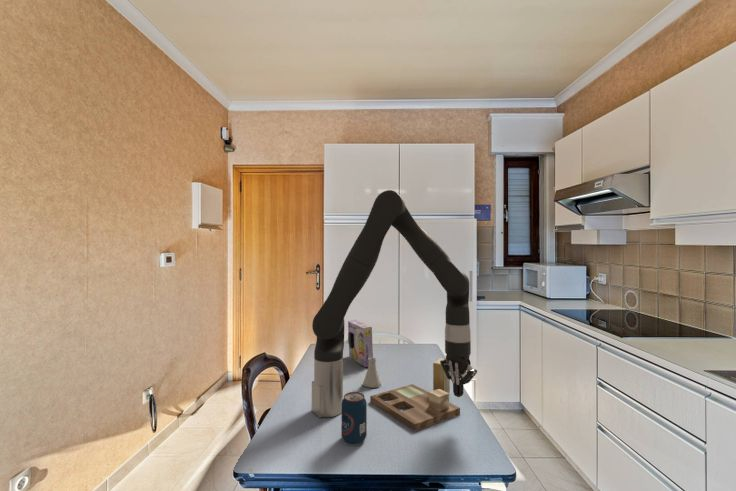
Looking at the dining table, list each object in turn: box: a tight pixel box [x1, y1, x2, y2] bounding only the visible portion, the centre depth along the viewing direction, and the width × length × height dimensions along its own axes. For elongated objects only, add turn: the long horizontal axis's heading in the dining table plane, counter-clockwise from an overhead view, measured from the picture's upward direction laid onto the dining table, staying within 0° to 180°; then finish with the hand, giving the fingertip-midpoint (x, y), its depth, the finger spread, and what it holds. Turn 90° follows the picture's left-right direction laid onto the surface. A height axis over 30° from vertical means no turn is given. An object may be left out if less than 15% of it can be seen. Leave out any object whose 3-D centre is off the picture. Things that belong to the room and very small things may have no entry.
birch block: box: [428, 389, 450, 411], centre depth 114 cm, size 4×4×4 cm
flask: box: [362, 357, 382, 389], centre depth 137 cm, size 7×7×10 cm
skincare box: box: [432, 357, 451, 394], centre depth 128 cm, size 6×4×12 cm
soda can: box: [340, 391, 368, 446], centre depth 98 cm, size 7×7×12 cm
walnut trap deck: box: [369, 383, 461, 432], centre depth 118 cm, size 19×23×2 cm
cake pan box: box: [347, 319, 374, 368], centre depth 165 cm, size 19×5×18 cm, turn 25°
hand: (458, 395), depth 107 cm, fingers closed
